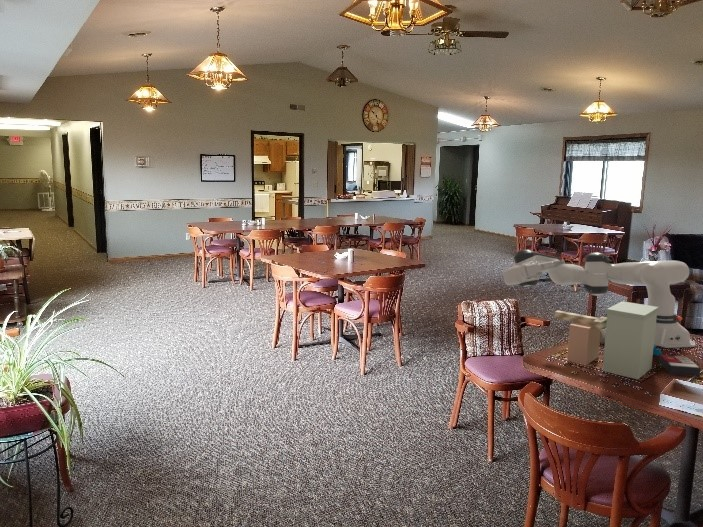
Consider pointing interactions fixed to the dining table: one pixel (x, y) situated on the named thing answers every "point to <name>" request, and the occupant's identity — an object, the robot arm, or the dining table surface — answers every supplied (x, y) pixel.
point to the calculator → (679, 365)
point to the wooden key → (582, 319)
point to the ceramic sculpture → (602, 336)
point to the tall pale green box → (629, 339)
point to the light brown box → (583, 343)
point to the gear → (656, 351)
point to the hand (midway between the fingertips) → (558, 262)
